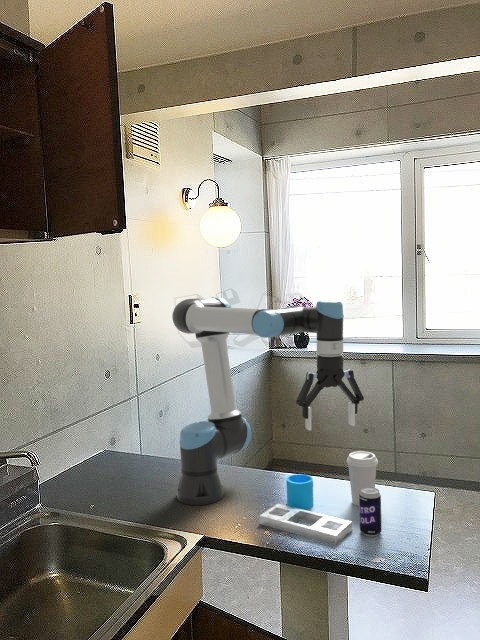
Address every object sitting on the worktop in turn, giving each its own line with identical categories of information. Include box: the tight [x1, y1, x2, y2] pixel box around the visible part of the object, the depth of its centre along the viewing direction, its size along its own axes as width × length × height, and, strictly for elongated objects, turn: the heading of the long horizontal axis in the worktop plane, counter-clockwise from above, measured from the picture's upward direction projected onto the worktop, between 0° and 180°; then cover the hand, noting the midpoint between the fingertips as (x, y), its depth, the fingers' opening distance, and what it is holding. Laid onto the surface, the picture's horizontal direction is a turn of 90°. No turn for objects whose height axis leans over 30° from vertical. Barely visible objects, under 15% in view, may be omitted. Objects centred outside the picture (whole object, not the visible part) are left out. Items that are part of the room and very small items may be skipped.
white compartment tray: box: [259, 503, 353, 546], centre depth 158 cm, size 24×10×3 cm, turn 54°
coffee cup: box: [345, 450, 379, 507], centre depth 173 cm, size 10×10×15 cm
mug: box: [285, 473, 314, 510], centre depth 175 cm, size 12×8×8 cm
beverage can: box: [359, 487, 382, 537], centre depth 152 cm, size 6×6×12 cm
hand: (330, 427), depth 162 cm, fingers open, 13 cm apart
